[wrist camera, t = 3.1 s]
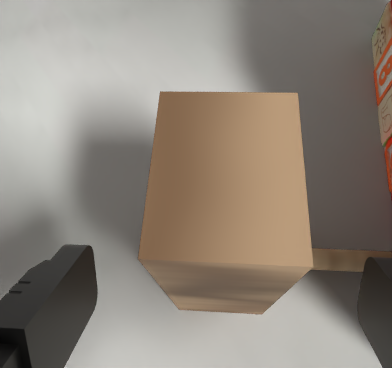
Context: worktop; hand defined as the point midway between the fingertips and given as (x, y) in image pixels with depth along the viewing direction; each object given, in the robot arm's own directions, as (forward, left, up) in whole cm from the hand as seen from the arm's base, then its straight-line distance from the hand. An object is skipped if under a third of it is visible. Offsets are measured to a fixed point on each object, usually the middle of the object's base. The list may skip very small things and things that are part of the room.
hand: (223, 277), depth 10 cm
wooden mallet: (-3, -2, -7) cm, 8 cm away
